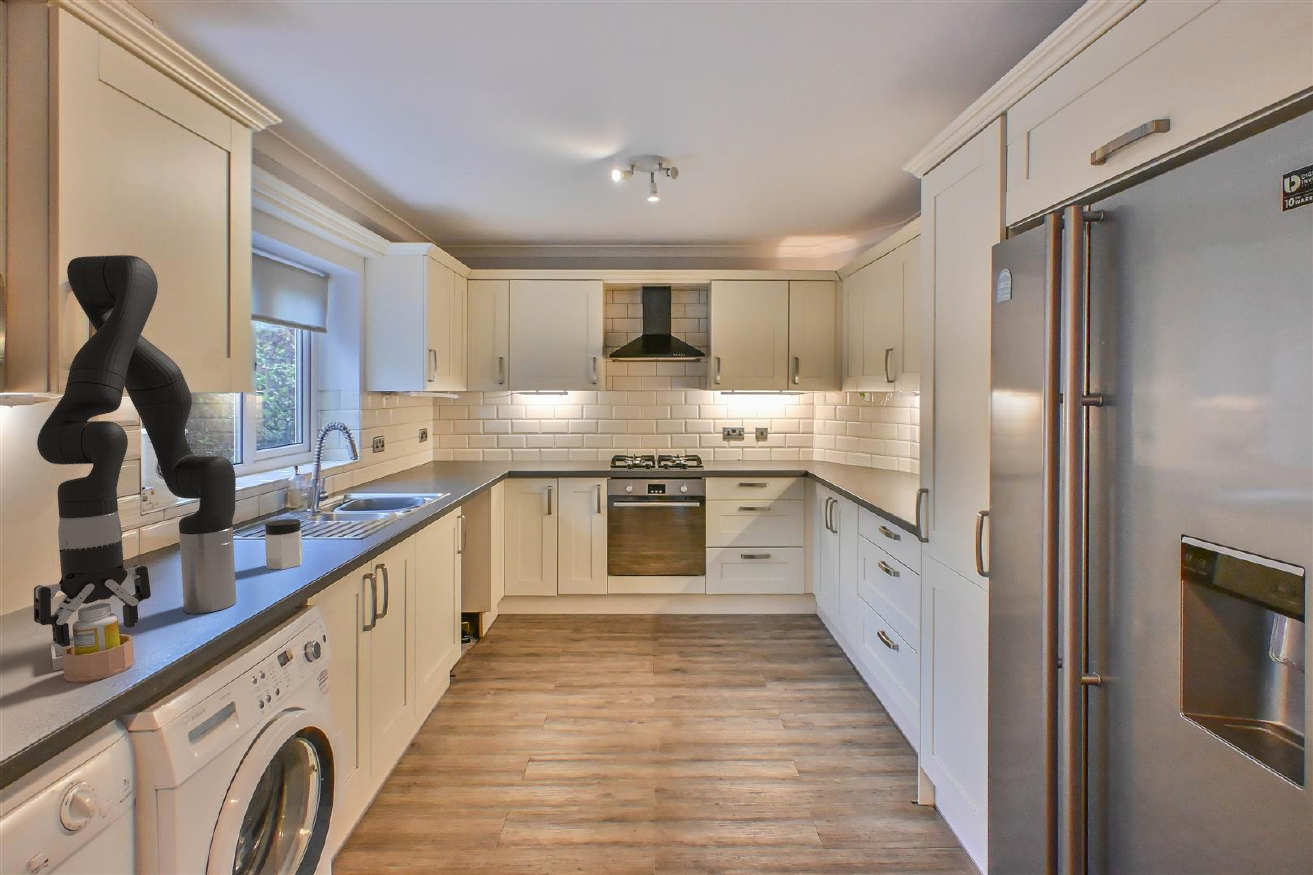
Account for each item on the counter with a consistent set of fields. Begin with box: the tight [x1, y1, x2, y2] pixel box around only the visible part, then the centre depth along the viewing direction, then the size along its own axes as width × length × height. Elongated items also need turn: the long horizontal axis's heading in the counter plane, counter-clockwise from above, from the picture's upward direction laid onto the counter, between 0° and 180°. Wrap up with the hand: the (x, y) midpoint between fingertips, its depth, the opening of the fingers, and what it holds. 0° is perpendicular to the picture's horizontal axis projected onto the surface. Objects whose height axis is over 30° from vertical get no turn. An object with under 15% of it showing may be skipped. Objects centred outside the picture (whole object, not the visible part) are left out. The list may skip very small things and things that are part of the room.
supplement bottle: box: [71, 602, 120, 655], centre depth 98 cm, size 6×6×10 cm
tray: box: [50, 639, 74, 672], centre depth 104 cm, size 8×8×2 cm
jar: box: [264, 518, 303, 570], centre depth 159 cm, size 9×8×12 cm
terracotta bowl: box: [62, 633, 135, 684], centre depth 98 cm, size 8×8×4 cm
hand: (97, 635), depth 98 cm, fingers open, 8 cm apart
